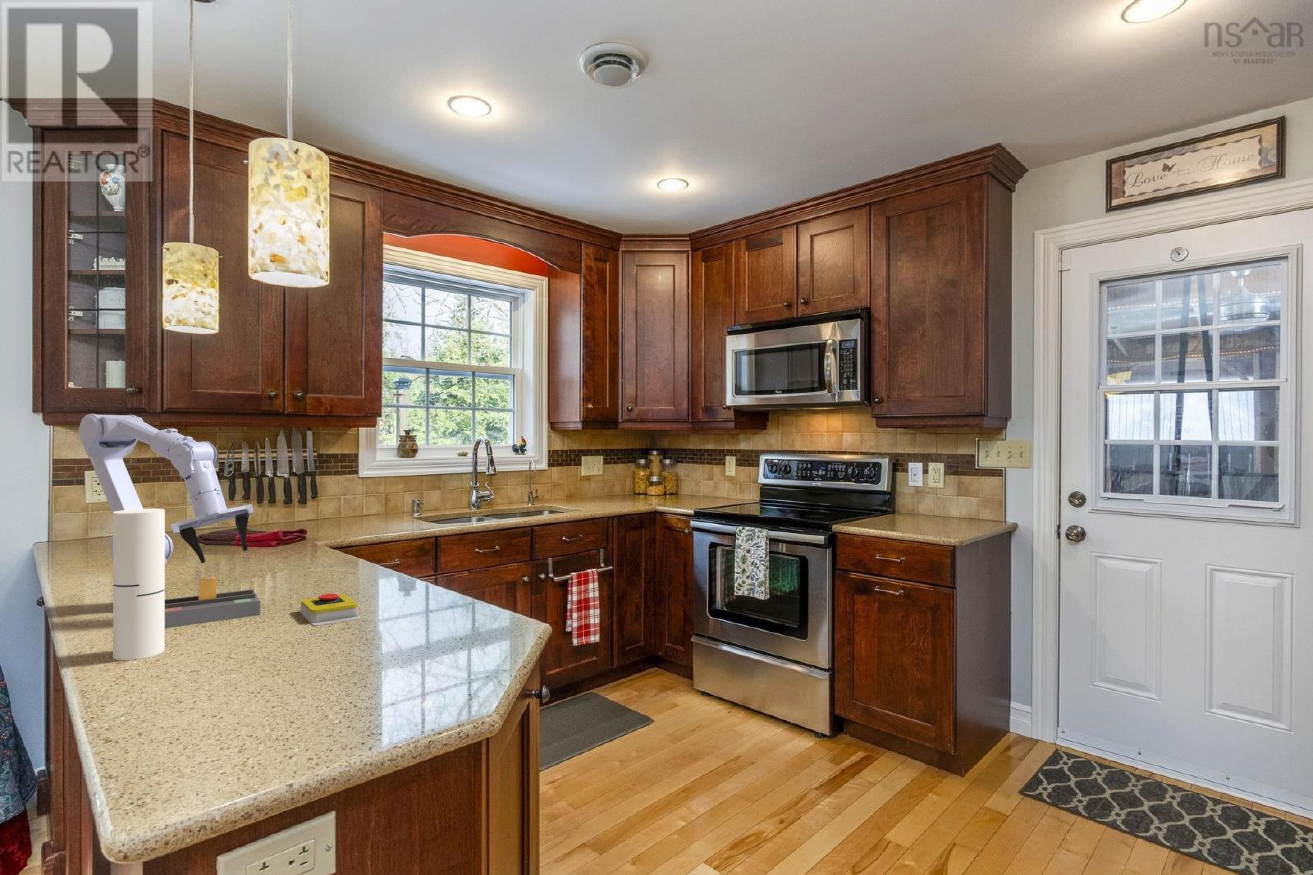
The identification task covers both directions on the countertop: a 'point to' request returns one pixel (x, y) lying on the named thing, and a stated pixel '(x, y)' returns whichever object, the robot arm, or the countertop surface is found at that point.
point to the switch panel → (211, 608)
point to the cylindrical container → (138, 583)
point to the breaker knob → (206, 588)
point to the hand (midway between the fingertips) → (224, 556)
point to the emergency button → (329, 609)
